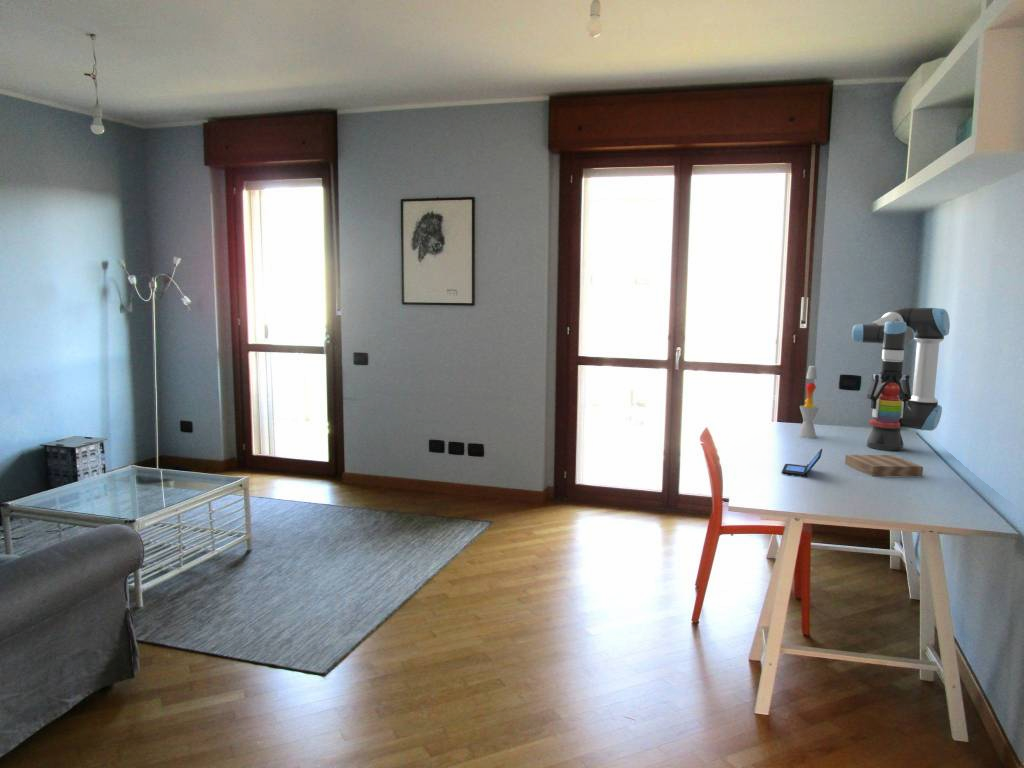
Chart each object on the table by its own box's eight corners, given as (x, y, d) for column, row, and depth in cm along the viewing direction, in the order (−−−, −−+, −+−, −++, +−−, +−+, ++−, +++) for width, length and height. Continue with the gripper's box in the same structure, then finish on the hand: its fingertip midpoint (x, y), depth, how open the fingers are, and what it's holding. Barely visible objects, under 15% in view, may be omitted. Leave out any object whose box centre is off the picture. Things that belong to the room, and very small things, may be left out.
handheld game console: (785, 466, 286) (786, 444, 285) (821, 471, 280) (822, 448, 279) (781, 475, 272) (782, 451, 271) (818, 479, 266) (820, 455, 265)
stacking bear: (895, 424, 285) (899, 380, 283) (906, 429, 275) (910, 383, 273) (867, 423, 286) (871, 379, 284) (877, 427, 276) (881, 382, 274)
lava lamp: (818, 438, 346) (824, 367, 342) (799, 437, 348) (804, 366, 344) (814, 435, 355) (820, 365, 351) (795, 434, 357) (800, 364, 352)
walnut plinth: (892, 464, 293) (892, 455, 293) (922, 476, 274) (923, 466, 273) (845, 464, 292) (845, 454, 292) (871, 476, 273) (872, 466, 272)
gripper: (913, 360, 282) (908, 416, 285) (859, 359, 281) (855, 415, 283) (925, 362, 274) (919, 419, 277) (870, 361, 273) (865, 418, 276)
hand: (887, 417), depth 280 cm, fingers closed on stacking bear, 9 cm apart
